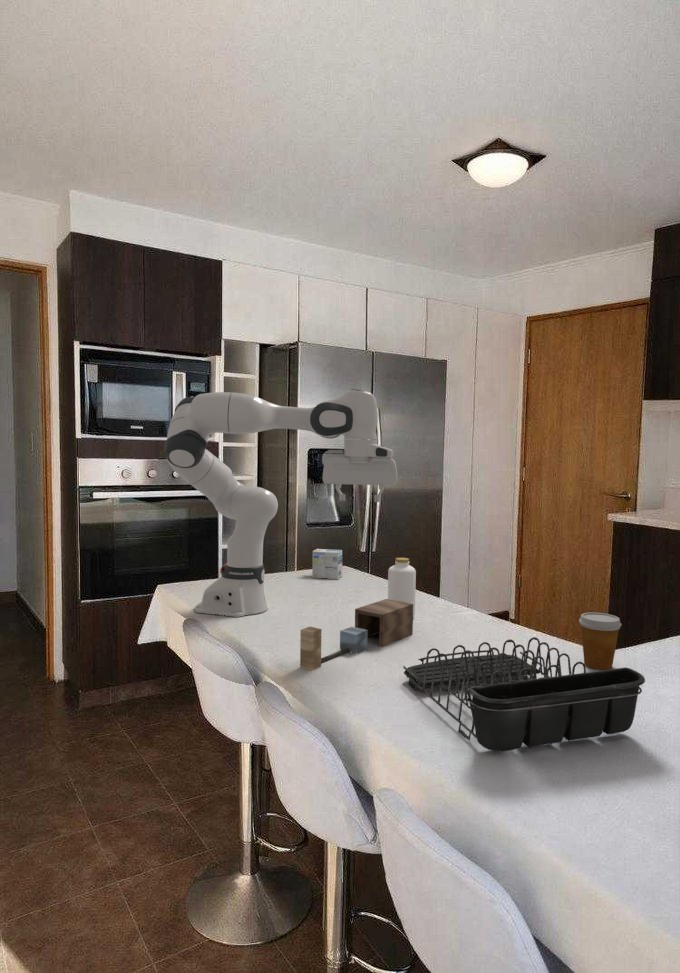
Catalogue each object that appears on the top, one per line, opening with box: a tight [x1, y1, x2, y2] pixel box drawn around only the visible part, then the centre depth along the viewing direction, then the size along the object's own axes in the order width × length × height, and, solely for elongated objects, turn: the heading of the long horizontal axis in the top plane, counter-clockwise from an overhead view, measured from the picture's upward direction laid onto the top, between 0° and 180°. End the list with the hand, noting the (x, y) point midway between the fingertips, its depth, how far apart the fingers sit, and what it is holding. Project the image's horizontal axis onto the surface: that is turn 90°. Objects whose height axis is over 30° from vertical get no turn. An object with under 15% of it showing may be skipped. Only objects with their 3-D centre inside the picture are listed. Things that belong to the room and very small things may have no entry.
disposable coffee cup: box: [578, 612, 622, 671], centre depth 161 cm, size 10×10×12 cm
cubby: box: [354, 598, 414, 648], centre depth 182 cm, size 15×9×8 cm, turn 142°
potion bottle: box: [387, 557, 417, 618], centre depth 203 cm, size 8×8×18 cm
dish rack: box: [403, 636, 646, 752], centre depth 136 cm, size 34×44×12 cm
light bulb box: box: [311, 548, 343, 580], centre depth 261 cm, size 11×7×11 cm, turn 77°
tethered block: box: [299, 626, 368, 671], centre depth 165 cm, size 21×5×9 cm, turn 142°
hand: (359, 501), depth 181 cm, fingers open, 8 cm apart
